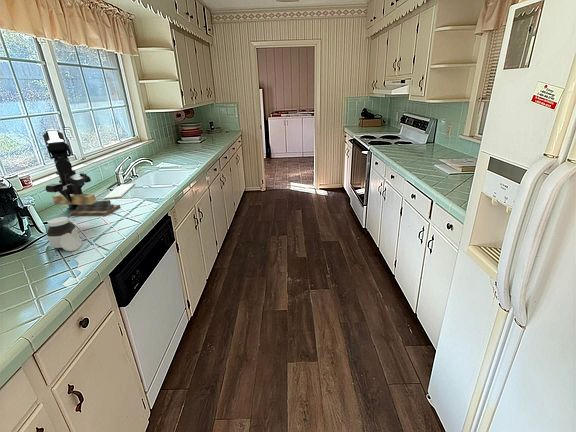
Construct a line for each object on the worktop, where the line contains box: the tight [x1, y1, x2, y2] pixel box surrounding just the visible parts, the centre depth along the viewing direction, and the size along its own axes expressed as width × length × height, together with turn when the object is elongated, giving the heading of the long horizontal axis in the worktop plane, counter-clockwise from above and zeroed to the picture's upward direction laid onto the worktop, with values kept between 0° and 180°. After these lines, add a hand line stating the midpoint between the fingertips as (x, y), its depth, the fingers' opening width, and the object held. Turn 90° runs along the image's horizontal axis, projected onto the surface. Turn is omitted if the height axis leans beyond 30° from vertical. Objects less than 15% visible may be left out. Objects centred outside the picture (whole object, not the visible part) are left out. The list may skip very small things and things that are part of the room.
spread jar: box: [46, 216, 82, 252], centre depth 125 cm, size 12×11×12 cm
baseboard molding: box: [101, 181, 136, 200], centre depth 202 cm, size 31×3×12 cm
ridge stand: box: [69, 199, 121, 216], centre depth 167 cm, size 20×12×6 cm, turn 82°
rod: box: [51, 193, 97, 205], centre depth 151 cm, size 20×4×4 cm, turn 81°
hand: (74, 200), depth 151 cm, fingers closed on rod, 4 cm apart
